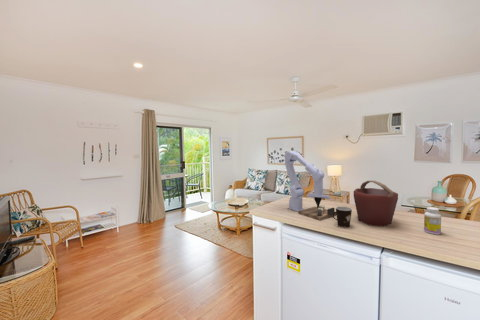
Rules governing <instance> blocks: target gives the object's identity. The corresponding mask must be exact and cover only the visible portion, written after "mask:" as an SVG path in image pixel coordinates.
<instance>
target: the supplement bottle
mask: <svg viewBox="0 0 480 320" xmlns="http://www.w3.org/2000/svg"><path fill="white" fill-rule="evenodd" d="M439 212H440V209H439V208H437V207H431V206H430V207H426V212H424V216H423V219H424V221H423V231H424V232H426V233H428V234H432V235H440V234H441V233H442V215H441V214H440V213H439Z"/></svg>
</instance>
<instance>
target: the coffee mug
mask: <svg viewBox="0 0 480 320" xmlns="http://www.w3.org/2000/svg"><path fill="white" fill-rule="evenodd" d="M352 211H353V209H352V208H351V207H348V206H336V207H335V212H334V213H333V217H332V218H333V219H334V220H335V221H336V222H337V226H339V227H341V228H350V226H351V220H352ZM335 213H336V216H334V214H335Z"/></svg>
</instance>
